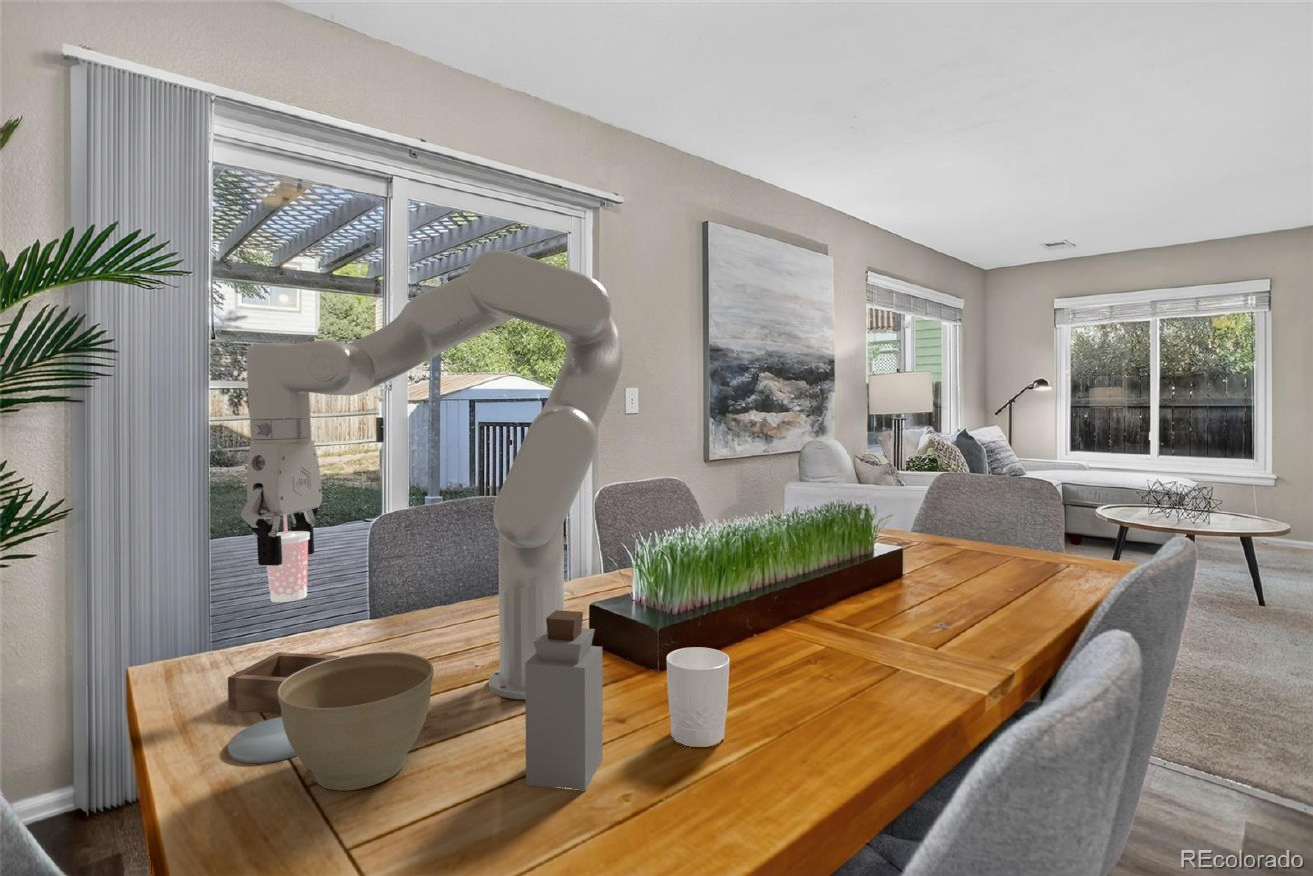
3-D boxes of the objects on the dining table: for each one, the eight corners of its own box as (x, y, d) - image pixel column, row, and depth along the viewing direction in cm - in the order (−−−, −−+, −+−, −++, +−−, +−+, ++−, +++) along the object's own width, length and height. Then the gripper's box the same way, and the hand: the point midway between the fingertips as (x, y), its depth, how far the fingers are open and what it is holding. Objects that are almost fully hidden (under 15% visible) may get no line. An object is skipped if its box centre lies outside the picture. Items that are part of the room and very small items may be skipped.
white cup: (711, 757, 83) (711, 674, 82) (654, 741, 87) (654, 661, 87) (739, 731, 90) (740, 654, 89) (686, 717, 94) (686, 643, 93)
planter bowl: (316, 739, 87) (314, 653, 87) (448, 735, 89) (447, 650, 88) (250, 814, 71) (248, 708, 71) (413, 807, 72) (411, 704, 72)
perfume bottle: (585, 791, 76) (584, 626, 75) (526, 784, 77) (524, 622, 76) (602, 760, 82) (602, 608, 81) (547, 755, 83) (546, 605, 83)
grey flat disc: (347, 724, 92) (347, 718, 92) (291, 766, 81) (291, 759, 81) (270, 718, 93) (270, 712, 93) (206, 759, 82) (205, 752, 82)
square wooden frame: (339, 685, 104) (339, 655, 104) (295, 714, 94) (294, 681, 94) (278, 681, 106) (277, 652, 106) (228, 710, 96) (227, 677, 96)
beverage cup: (271, 594, 102) (266, 498, 101) (317, 590, 103) (313, 495, 103) (258, 605, 96) (253, 503, 95) (307, 601, 97) (302, 501, 97)
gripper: (262, 434, 89) (269, 574, 90) (342, 429, 106) (347, 547, 107) (209, 435, 90) (216, 573, 91) (297, 430, 108) (302, 546, 108)
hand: (287, 558), depth 99 cm, fingers closed on beverage cup, 6 cm apart
